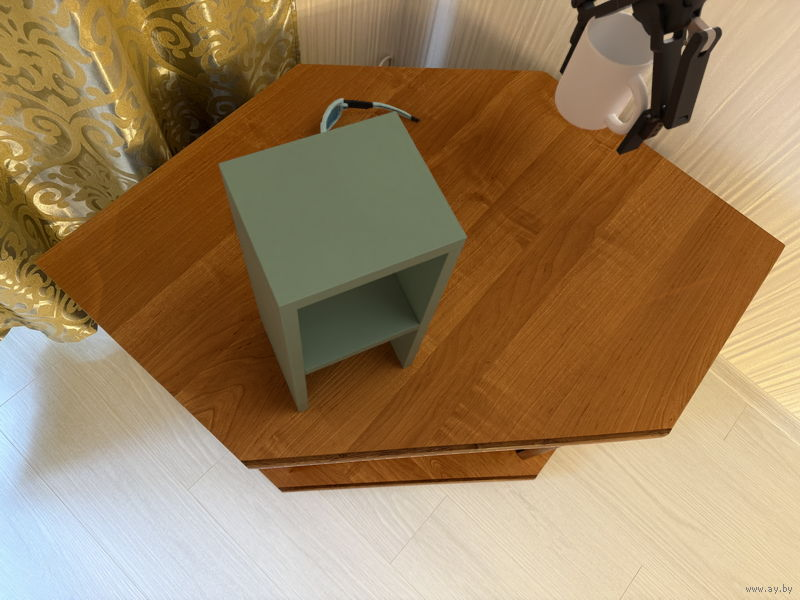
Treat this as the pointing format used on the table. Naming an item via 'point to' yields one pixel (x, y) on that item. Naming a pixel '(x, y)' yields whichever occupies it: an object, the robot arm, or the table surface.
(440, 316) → the table surface
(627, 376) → the table surface
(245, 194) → the shelf
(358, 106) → the sunglasses
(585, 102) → the mug
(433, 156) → the table surface
